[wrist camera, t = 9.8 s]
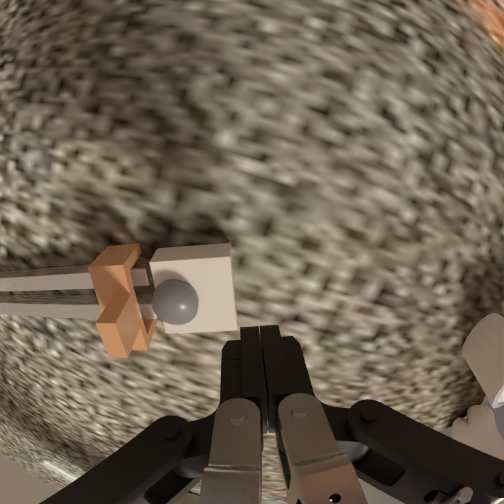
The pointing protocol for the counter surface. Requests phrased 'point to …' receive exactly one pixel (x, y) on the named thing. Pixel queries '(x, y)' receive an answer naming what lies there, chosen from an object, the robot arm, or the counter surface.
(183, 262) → the block
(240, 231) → the counter surface
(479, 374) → the shot glass
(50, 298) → the leg
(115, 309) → the stepped wooden block
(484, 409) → the water bottle
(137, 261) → the leg
